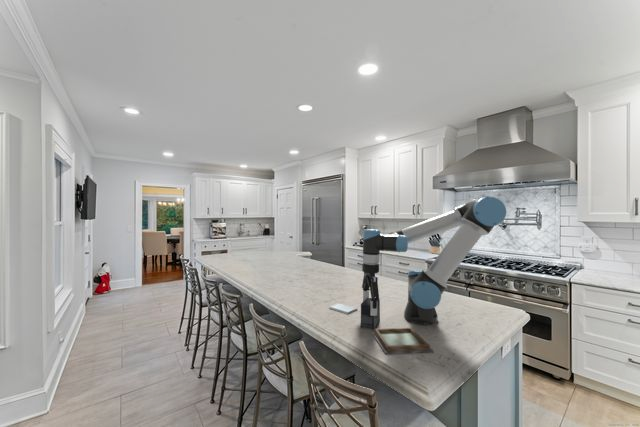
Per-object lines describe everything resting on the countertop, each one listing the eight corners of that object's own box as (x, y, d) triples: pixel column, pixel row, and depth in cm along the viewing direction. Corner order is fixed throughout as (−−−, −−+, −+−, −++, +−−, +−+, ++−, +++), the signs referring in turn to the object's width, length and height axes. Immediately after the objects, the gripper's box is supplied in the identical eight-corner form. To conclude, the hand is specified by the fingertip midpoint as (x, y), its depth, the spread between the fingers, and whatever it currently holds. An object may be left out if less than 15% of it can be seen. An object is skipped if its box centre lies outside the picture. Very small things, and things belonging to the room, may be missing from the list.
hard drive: (357, 308, 144) (338, 302, 152) (348, 312, 138) (329, 306, 146) (357, 311, 144) (338, 305, 152) (348, 315, 138) (329, 309, 146)
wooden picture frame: (412, 331, 119) (412, 326, 119) (433, 352, 101) (433, 346, 101) (371, 332, 117) (371, 327, 117) (385, 354, 99) (385, 348, 99)
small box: (366, 318, 132) (366, 297, 132) (380, 321, 129) (380, 298, 129) (359, 327, 123) (360, 303, 123) (374, 329, 120) (374, 305, 120)
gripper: (356, 258, 138) (355, 300, 138) (370, 268, 113) (368, 320, 113) (371, 258, 139) (370, 300, 139) (388, 268, 114) (386, 320, 114)
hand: (369, 309), depth 126 cm, fingers open, 13 cm apart
